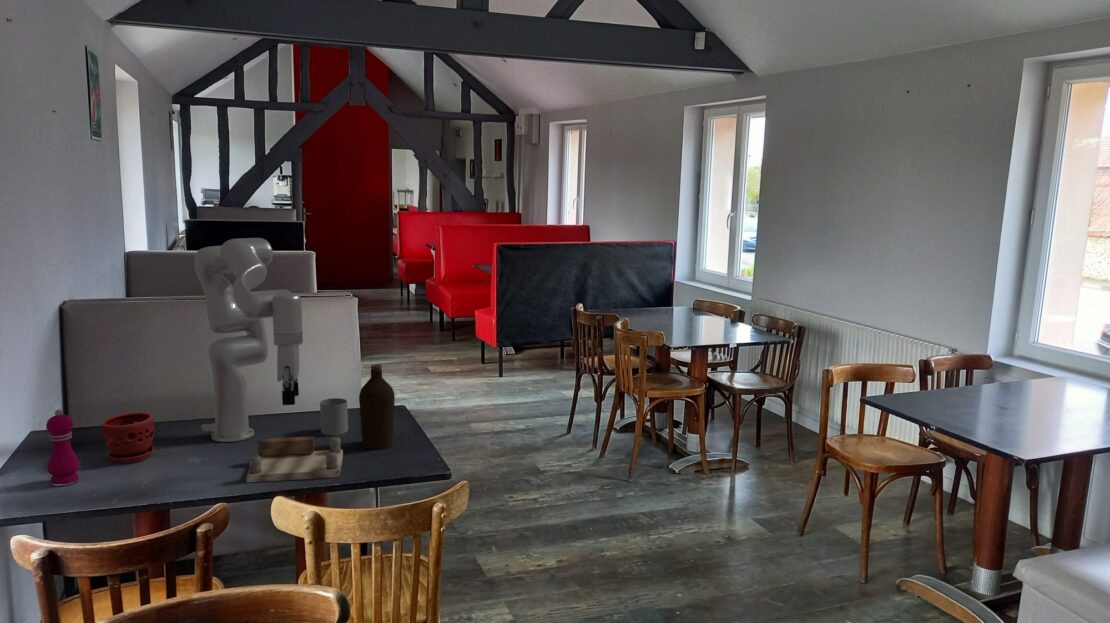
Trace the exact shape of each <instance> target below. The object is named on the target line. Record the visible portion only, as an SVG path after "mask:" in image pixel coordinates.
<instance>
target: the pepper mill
mask: <svg viewBox="0 0 1110 623" xmlns="http://www.w3.org/2000/svg"><path fill="white" fill-rule="evenodd" d="M73 427H74V421H73V418H72V417H71V416H70V415H67V414H64V413H63V410H62V409H59V408H58V409H56V410H55V411H54V415H53V416H51V417H49V419H48V420H47V421H46V430H47V432H49V433H50V434H49V436H48V437H49V441H51V443H52V452H51V454H50V457H49V460H48V462H47V468H46V469H47V472H48V474H49V475H51V477H50V484H51V483H52V484H57V485H58V484H68V483H71V482H74V481H77V480H78V479H79V473H78V472H77V471H78V470H79V468H80V461H79V458H78V456H77V455H76V453H75V451H74V450H73V448H72V445H71V439H72V437H73V433H72V431H71V430H72V429H73ZM79 480H80V479H79ZM79 480H78V481H79ZM78 481H77V482H78Z"/></svg>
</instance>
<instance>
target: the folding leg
mask: <svg viewBox="0 0 1110 623" xmlns="http://www.w3.org/2000/svg"><path fill="white" fill-rule="evenodd" d="M314 451H315V436H312V435H311V436H294V437H293V436H292V437H277V438H276V437H275V438H262V439H258V440H257V454H258V455H262V456H266V455H285V454H304V453H314Z"/></svg>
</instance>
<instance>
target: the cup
mask: <svg viewBox="0 0 1110 623" xmlns="http://www.w3.org/2000/svg"><path fill="white" fill-rule="evenodd" d="M319 406H320V407H319V410H320V413H319V414H320V416H319V417H320V433H321V435H323V434H325V435H324V436H328V435H336V436H340V435H339V434H342V435H344V434H343V433H345V432H347V431H348V432H349V419H348V417H349V415H348V414H349V413H348V400H347V399H345V398H338V397H336V398H328V399H323V400H321V401H320V402H319ZM348 432H347V433H348ZM345 434H346V433H345Z"/></svg>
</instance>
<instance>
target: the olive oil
mask: <svg viewBox="0 0 1110 623" xmlns="http://www.w3.org/2000/svg"><path fill="white" fill-rule="evenodd" d="M382 366H383V365H382V364H372V365H370V368H371V369H370V378H369V379H368V381H366V382H365V384H364V385H363V386H362V387H361V389H360V392H359V395H358V403H359V415H360V425H361V426H360V427H361V441H362V442H361V443H362V444H361V445H362V447H364V448H366V449H368V450H381V449H388V448H390V447H392V446H393V445H394V426H395V401H396V400H395V399H396V397H395V392H394V389H393V387H392V385H390V384H389V383H388V382H387V380H385V379H384V378H383V370H382Z"/></svg>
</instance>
